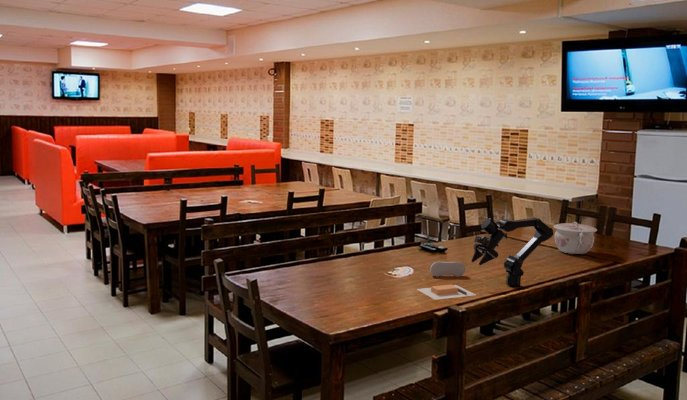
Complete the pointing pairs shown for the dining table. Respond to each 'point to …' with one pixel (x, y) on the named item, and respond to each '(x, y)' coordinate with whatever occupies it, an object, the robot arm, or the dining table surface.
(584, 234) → the chamber pot
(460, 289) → the long brown bar
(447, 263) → the grey rounded panel
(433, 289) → the orange block
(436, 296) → the mat
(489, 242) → the robot arm
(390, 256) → the dining table surface
